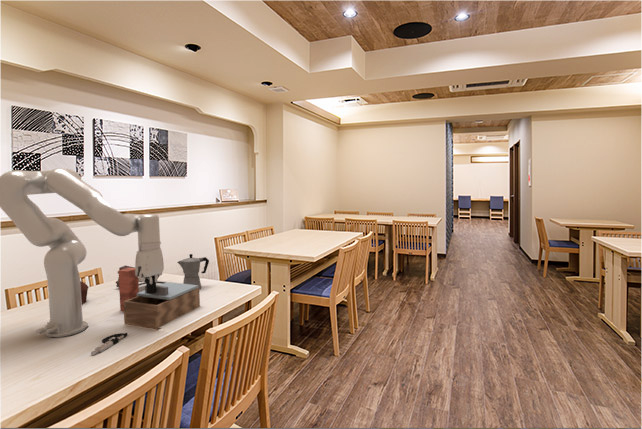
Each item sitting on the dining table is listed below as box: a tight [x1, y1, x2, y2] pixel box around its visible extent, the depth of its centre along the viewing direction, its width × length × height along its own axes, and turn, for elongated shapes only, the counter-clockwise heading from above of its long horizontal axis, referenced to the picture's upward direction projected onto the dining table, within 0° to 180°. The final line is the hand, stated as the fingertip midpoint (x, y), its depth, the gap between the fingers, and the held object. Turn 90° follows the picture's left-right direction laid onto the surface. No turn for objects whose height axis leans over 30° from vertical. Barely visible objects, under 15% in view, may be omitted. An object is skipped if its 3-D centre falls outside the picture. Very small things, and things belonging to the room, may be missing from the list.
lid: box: [137, 281, 198, 300], centre depth 146 cm, size 17×16×4 cm
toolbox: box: [123, 288, 201, 331], centre depth 144 cm, size 24×16×9 cm, turn 161°
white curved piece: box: [138, 279, 168, 292], centre depth 165 cm, size 17×5×10 cm, turn 109°
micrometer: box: [90, 332, 129, 356], centre depth 119 cm, size 15×7×2 cm, turn 169°
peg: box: [117, 268, 139, 312], centre depth 148 cm, size 5×5×18 cm
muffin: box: [80, 280, 89, 305], centre depth 159 cm, size 12×11×10 cm
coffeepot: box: [177, 253, 210, 291], centre depth 181 cm, size 15×9×18 cm, turn 121°
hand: (151, 293), depth 137 cm, fingers closed
